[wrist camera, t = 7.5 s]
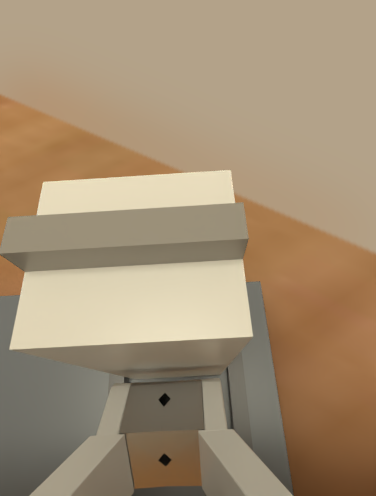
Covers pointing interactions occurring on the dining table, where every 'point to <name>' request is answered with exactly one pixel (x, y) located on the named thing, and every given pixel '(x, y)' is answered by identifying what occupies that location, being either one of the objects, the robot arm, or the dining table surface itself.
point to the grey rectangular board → (95, 397)
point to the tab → (133, 275)
